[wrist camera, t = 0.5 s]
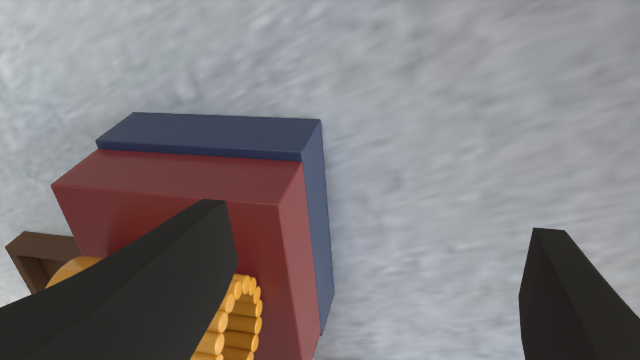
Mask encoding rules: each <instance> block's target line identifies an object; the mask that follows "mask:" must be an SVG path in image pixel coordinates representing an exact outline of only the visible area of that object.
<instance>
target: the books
mask: <svg viewBox="0 0 640 360" xmlns="http://www.w3.org/2000/svg"><path fill="white" fill-rule="evenodd" d="M95 141H96V144H97V147H98V149H97V150H96V151H94V152H93V153H92V154H90V155H89V156H88V157H86V158H85V159H84V160H82V161H81V162H80V163H79V164H77V165H76V166H75V167H73V168H72V169H71V170H69V171H68V172H67V173H65V174H64V175H63V176H61V177H60V178H59V179H57V180H56V181H55V182H54V183H52V184H51V188H52V190H53V192H54V195H55V197H56V199H57V201H58V203H59V206H60V208H61V210H62V212H63V214H64V216H65V219H66V221H67V223H68V225H69V227H70V230H71V232H72V234H73V236H74V238H75V240H76V243H77V245H78V247H79V249H80V251H81V254H82V256H83V255H96V256H103V257H107V256H109V255H111V254H113V253H114V252H116V251H118V250H119V249H121V248H123V247H125V246H126V245H128V244H130V243H132V242H133V241H135V240H136V239H138V238H140V237H141V236H143V235H144V234H146V233H148V232H149V231H151V230H152V229H154V228H156V227H157V226H159V225H160V224H162V223H164V222H165V221H167V220H168V219H170V218H171V217H173V216H175V215H176V214H178V213H179V212H181V211H183V210H184V209H186V208H188V207H189V206H191V205H193V204H194V203H196V202H198V201H200V200H202V199H215V200H225V201H226V206H227V210H228V215H229V219H230V224H231V229H232V233H233V238H234V242H235V247H236V252H237V256H238V261H239V262H238V265H237V268H236V270H235V273H236V274H243V275H248V276H249V277H254V278H255V279H256V286H259V287H260V290H261V294H260V300H261V301H262V312H261V314H260V317H261V319H262V325H261V329H260V332H259V333H258V334H257V335H258V338H259V342H258V347H257V349H256V351H255V352H253V354H254V359H253V360H312V359H313V356H314V353H315V349H316V346H317V343H318V339H319V336H322V334H323V330H324V327H325V324H326V320H327V317H328V314H329V310H330V307H331V303H332V300H333V297H334V282H333V270H332V258H331V245H330V233H329V221H328V209H327V196H326V184H325V172H324V160H323V147H322V135H321V123H320V119H298V118H271V117H245V116H218V115H192V114H165V113H139V112H133V113H132V114H130V115H129V116H128V117H126V118H125V119H124V120H122V121H121V122H119V123H118V124H117V125H115V126H114V127H113V128H111V129H110V130H109V131H107V132H106V133H104V134H103V135H102V136H100V137H99V138H98V139H96V140H95Z"/></svg>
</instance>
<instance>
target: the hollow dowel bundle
mask: <svg viewBox="0 0 640 360" xmlns="http://www.w3.org/2000/svg"><path fill="white" fill-rule="evenodd" d="M104 258H106V257H103V256H96V255H83V256H79V257H76V258H74V259H72V260H70V261H69V262H67V263H66V264H65V265H63V266H62V267H61V268H60V269H59V270H58V271H57V272H56V273H55V275H54V276H53V277H52V278H51V280H50V281H49V283H48V284H47V286H46V288H48V287H50V286H52V285H54V284H56V283H58V282H60V281H62V280H64V279H66V278H68V277H71V276H73V275H74V274H76V273H78V272H80V271H82V270H84V269H86V268H88V267H90V266H92V265H93V264H95V263H97V262H99V261H100V260H102V259H104ZM46 288H45V289H46ZM260 294H261V290H260V287H259V286H256V279H255V278H254V277H249V276H248V275H243V274H236V273H234V276H233V279H232V281H231V284H230V286H229V289H228V291H227V293H226V296H225V298H224V300H223V302H222V303H221V305H220V307H219V309H218V311H217V313H216V314H215V316H214V318H213V320H212V322H211V323H210V325H209V327H208V329H207V330H206V332H205V334H204V336H203V338H202V339H201V341H200V343H199V345H198V346H197V348H196V350H195V352H194V353H193V355H192V357H191V359H190V360H253V359H254V354H253V352H255V351H256V349H257V347H258V342H259V338H258V335H257V334H258V333H259V332H260V329H261V325H262V319H261V317H260V314H261V312H262V301H261V300H260Z"/></svg>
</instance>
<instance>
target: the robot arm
mask: <svg viewBox="0 0 640 360" xmlns="http://www.w3.org/2000/svg"><path fill="white" fill-rule="evenodd" d="M238 262H239V261H238V256H237V252H236V247H235V242H234V238H233V233H232V229H231V224H230V219H229V215H228V210H227V206H226V201H225V200H215V199H202V200H200V201H198V202H196V203H194V204H193V205H191V206H189V207H188V208H186V209H184V210H183V211H181V212H179V213H178V214H176V215H175V216H173V217H171V218H170V219H168V220H167V221H165V222H164V223H162V224H160V225H159V226H157V227H156V228H154V229H152V230H151V231H149V232H148V233H146V234H144V235H143V236H141V237H140V238H138V239H136V240H135V241H133V242H132V243H130V244H128V245H126V246H125V247H123V248H121V249H119V250H118V251H116V252H114V253H113V254H111V255H109V256H107V257H106V258H104V259H102V260H100V261H99V262H97V263H95V264H93V265H92V266H90V267H88V268H86V269H84V270H82V271H80V272H78V273H76V274H74V275H73V276H71V277H68V278H66V279H64V280H62V281H60V282H58V283H56V284H54V285H52V286H50V287H48V288H46V289H43V290H41V291H39V292H37V293H34V294H32V295H30V296H27V297H25V298H22V299H20V300H17V301H15V302H13V303H10V304H8V305H5V306H3V307H1V308H0V360H190V359H191V357H192V355H193V353H194V352H195V350H196V348H197V346H198V345H199V343H200V341H201V339H202V338H203V336H204V334H205V332H206V330H207V329H208V327H209V325H210V323H211V322H212V320H213V318H214V316H215V314H216V313H217V311H218V309H219V307H220V305H221V303H222V302H223V300H224V298H225V296H226V293H227V291H228V289H229V286H230V284H231V281H232V279H233V276H234V273H235V270H236V268H237V265H238ZM519 312H520V326H521V339H522V344H523V350H524V355H525V360H640V318H639V317H638V316H637V315H636V314H635V313H634V312H633V311H632V310H631V309H630V307H629V306H628V305H627V304H626V303H625V302H624V301H623V300H622V298H621V297H620V296H619V295H618V294H617V293H616V292H615V291H614V289H613V288H612V287H611V286H610V285H609V284H608V282H607V281H606V280H605V279H604V278H603V277H602V275H601V274H600V273H599V272H598V271H597V269H596V268H595V267H594V266H593V264H592V263H591V262H590V261H589V260H588V258H587V257H586V256H585V255H584V253H583V252H582V251H581V250H580V248H579V247H578V246H577V245H576V243H575V242H574V241H573V240H572V238H571V237H570V236H569V235H568V234H567V233H566V231H565V230H556V229H544V228H533V231H532V236H531V241H530V245H529V250H528V255H527V259H526V264H525V269H524V273H523V278H522V282H521V287H520V292H519Z"/></svg>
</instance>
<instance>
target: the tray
mask: <svg viewBox="0 0 640 360" xmlns="http://www.w3.org/2000/svg"><path fill="white" fill-rule="evenodd" d="M5 248H6V250H7V252H8V254H9V255H10V257H11V259H12V260H13V262H14V264H15V266H16V268H17V269H18V271H19V273H20V275H21V276H22V278H23V280H24V282H25V283H26V285H27V287H28V289H29V290H30V292H31V294H34V293H37V292H39V291H41V290H43V289H45V288H46V286H47V284H48V283H49V281H50V280H51V278H52V277H53V276H54V275H55V273H56V272H57V271H58V270H59V269H60V268H61V267H62V266H63V265H65V264H66V263H67V262H69V261H70V260H72V259H74V258H76V257H79V256H82V254H81V251H80V249H79V247H78V245H77V243H76V240H75V238H74V237H68V236H59V235H51V234H42V233H34V232H25V231H24V232H22V233H21V234H20V235H19V236H18V237H16V238H15V239H14V240H13V241H12V242H10V243H9V244H8V245H7V246H5Z"/></svg>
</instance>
